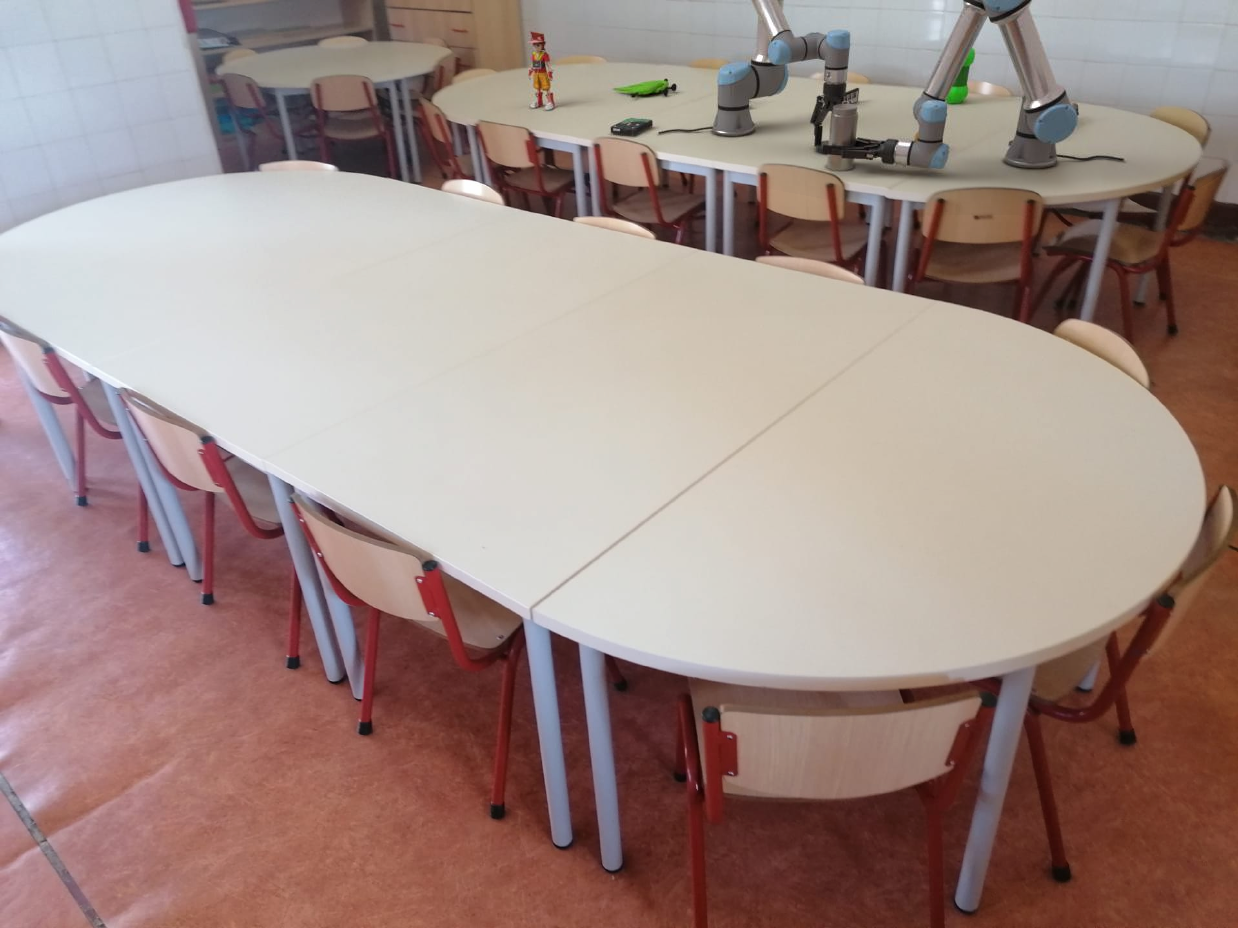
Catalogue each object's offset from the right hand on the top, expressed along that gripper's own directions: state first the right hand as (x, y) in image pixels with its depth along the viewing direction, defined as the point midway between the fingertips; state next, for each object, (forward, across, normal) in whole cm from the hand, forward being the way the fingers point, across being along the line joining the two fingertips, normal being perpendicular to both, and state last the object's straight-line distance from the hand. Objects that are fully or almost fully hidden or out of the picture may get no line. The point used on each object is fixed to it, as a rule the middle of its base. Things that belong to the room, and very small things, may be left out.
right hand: (827, 145), depth 293 cm
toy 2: (+112, +74, -6) cm, 134 cm away
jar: (-5, 0, -6) cm, 8 cm away
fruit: (-26, +28, -6) cm, 38 cm away
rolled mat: (-58, +68, -6) cm, 89 cm away
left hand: (+5, +16, -6) cm, 18 cm away
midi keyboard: (+19, +77, -6) cm, 80 cm away
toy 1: (+139, +36, -6) cm, 144 cm away
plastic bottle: (-19, +95, -6) cm, 97 cm away
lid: (+4, +16, -4) cm, 17 cm away
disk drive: (+84, +16, -6) cm, 85 cm away
